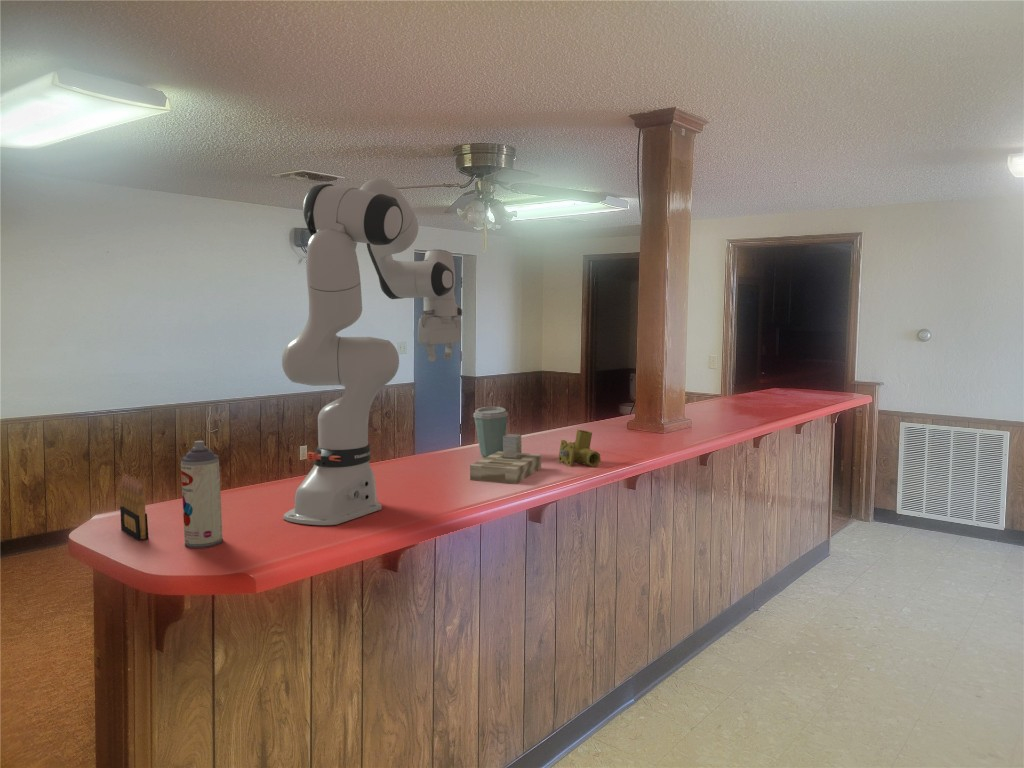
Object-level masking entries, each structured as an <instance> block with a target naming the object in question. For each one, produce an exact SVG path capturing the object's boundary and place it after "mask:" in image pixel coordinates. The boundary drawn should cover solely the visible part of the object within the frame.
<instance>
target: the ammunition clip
mask: <svg viewBox="0 0 1024 768" xmlns="http://www.w3.org/2000/svg"><path fill="white" fill-rule="evenodd" d="M120 499H121V501H120V502H121V505H120V507H119V509H120V510H119V511H120V530H121V531H122V532H123V533H125V534H127V535H128V536H130V537H131V538H133V539H135V540H137V541H138V542H140V541H145V540H149V539H150V537H149V525H148V513H146V501H145V496H144V488H143V483H142V482H141V479H138V478H135V477H134V476H131V475H129V474H126V473H125V472H123V473H122V477H121V492H120Z"/></svg>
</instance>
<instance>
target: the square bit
mask: <svg viewBox="0 0 1024 768" xmlns="http://www.w3.org/2000/svg"><path fill="white" fill-rule="evenodd" d="M521 453H522V434H515V433H508V434H505V436H503V458H504V459H517V460H520V459H521Z"/></svg>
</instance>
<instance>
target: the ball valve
mask: <svg viewBox="0 0 1024 768" xmlns="http://www.w3.org/2000/svg"><path fill="white" fill-rule="evenodd" d="M592 435H593V431H589V430H584V429H583V430H582V429H577V430H576V434H575V441H573V442H572V441H570V442H568V441H567V440H566V439H561V440H560V447H559V454H558V458H557V459H558V460H557V461H558V463H559V464H562V463H563V464H564V462H565V464H566V466H568V467H573V464H574V462H576V463H578V464H581V465H582V464H585V465H587V466H589V467H591V468H594V467H597V466H598V465H599V463H600V462H601V459H602V458H601V454H600V453H599V452H597V451H596V450H593V449H591V442H592V437H593V436H592Z"/></svg>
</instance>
